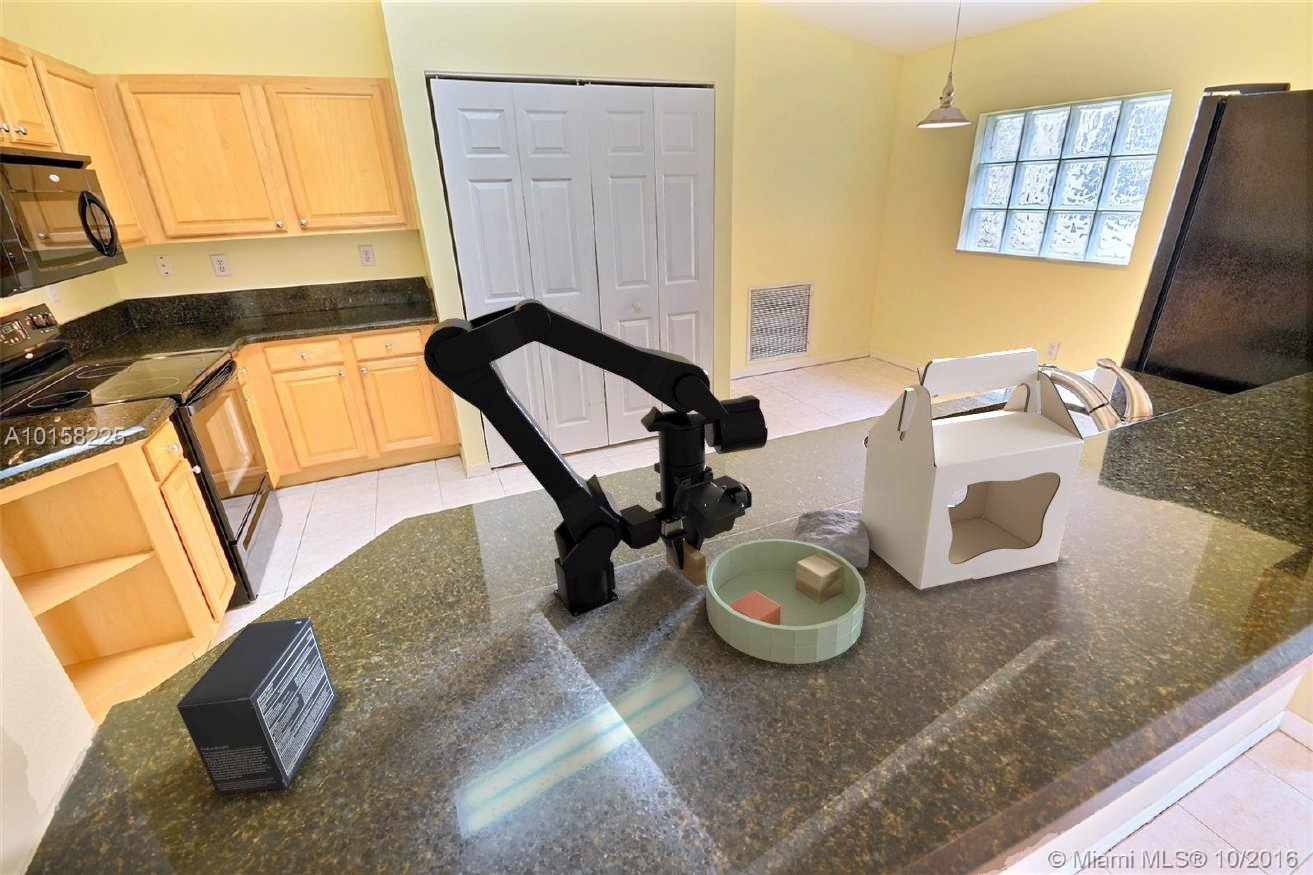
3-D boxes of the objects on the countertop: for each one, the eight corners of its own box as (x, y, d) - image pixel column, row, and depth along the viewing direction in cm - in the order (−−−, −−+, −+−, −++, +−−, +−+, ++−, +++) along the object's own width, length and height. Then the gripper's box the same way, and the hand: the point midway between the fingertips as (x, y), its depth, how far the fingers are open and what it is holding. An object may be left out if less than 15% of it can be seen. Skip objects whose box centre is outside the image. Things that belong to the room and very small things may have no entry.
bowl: (780, 694, 58) (782, 654, 56) (677, 603, 73) (676, 569, 71) (895, 624, 67) (899, 588, 65) (783, 556, 82) (784, 525, 80)
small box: (275, 703, 60) (246, 620, 56) (340, 697, 60) (315, 614, 57) (210, 797, 50) (169, 704, 46) (288, 789, 50) (253, 696, 47)
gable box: (983, 517, 89) (1014, 337, 80) (1059, 562, 77) (1107, 356, 68) (856, 542, 84) (872, 353, 75) (916, 593, 72) (945, 377, 63)
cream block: (819, 604, 70) (821, 576, 69) (795, 589, 73) (796, 562, 72) (841, 593, 72) (844, 565, 71) (817, 578, 75) (819, 551, 74)
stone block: (800, 580, 79) (876, 570, 76) (792, 549, 78) (869, 538, 75) (798, 538, 90) (864, 528, 87) (791, 510, 89) (858, 499, 86)
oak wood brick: (696, 586, 74) (695, 559, 73) (666, 562, 80) (665, 537, 78) (706, 582, 75) (706, 555, 74) (675, 558, 81) (674, 533, 79)
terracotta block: (756, 651, 63) (756, 621, 62) (729, 633, 66) (729, 604, 65) (779, 635, 65) (781, 605, 64) (753, 618, 68) (754, 589, 67)
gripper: (654, 502, 61) (660, 625, 66) (783, 459, 70) (779, 569, 75) (604, 469, 69) (613, 579, 75) (724, 435, 79) (725, 535, 84)
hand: (685, 566), depth 77 cm, fingers closed on oak wood brick, 1 cm apart
